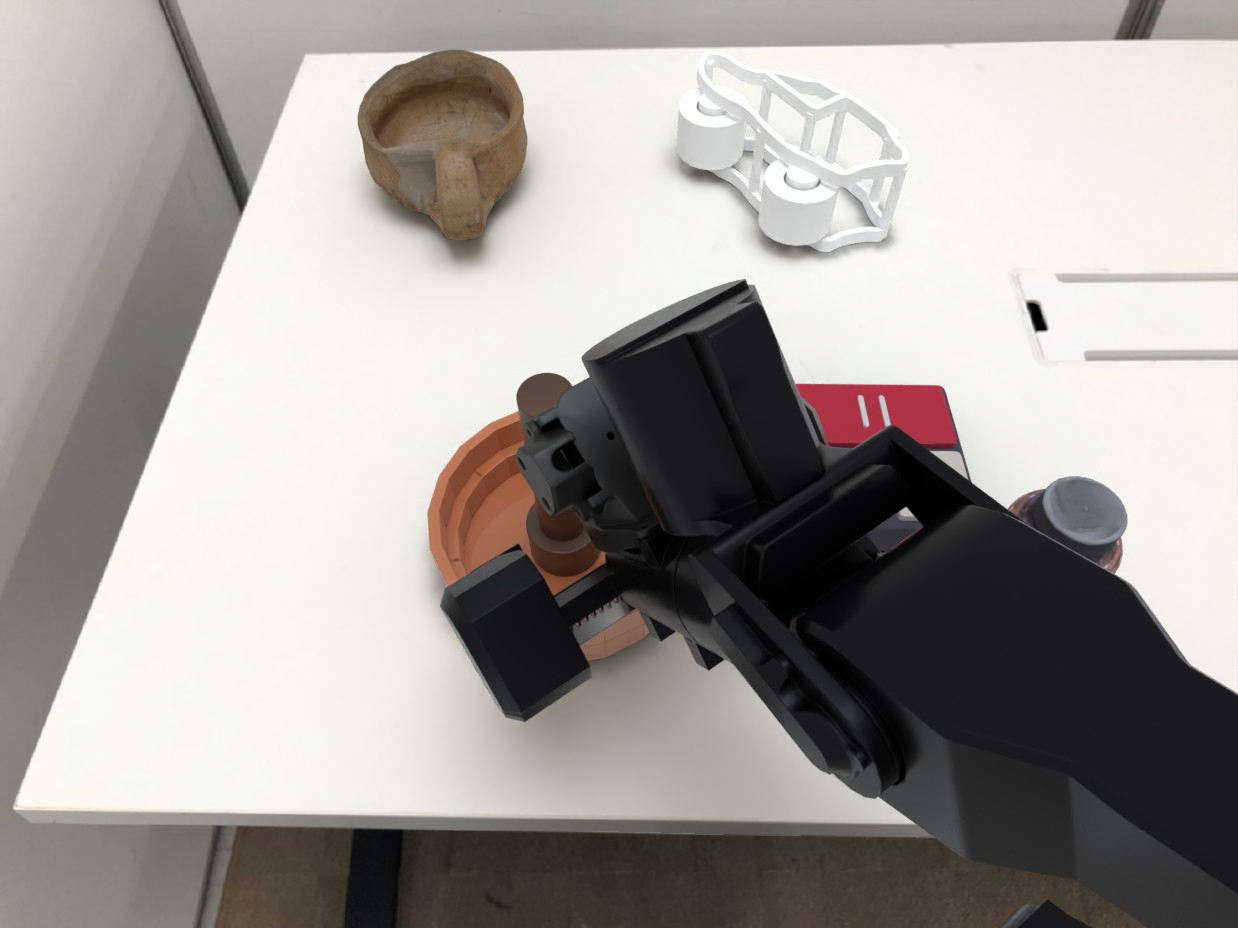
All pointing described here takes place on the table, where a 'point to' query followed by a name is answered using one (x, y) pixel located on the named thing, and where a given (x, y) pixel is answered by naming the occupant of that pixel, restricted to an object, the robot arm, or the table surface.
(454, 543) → the mixing bowl
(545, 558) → the pestle
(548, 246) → the table surface
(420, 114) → the tan clay cup
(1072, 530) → the supplement bottle
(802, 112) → the wheeled car silhouette
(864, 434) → the calculator
